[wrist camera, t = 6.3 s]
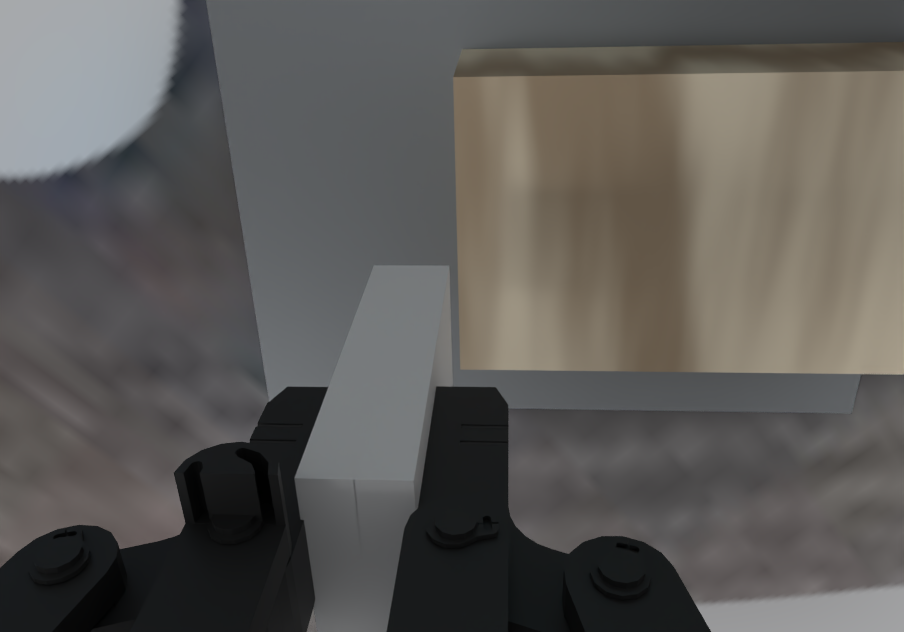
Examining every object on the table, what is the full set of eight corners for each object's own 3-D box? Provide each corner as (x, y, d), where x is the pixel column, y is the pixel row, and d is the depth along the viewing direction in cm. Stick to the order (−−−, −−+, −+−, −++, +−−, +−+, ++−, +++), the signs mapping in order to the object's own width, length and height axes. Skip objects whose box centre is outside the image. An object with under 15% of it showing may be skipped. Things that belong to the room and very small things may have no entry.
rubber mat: (273, 397, 29) (269, 405, 28) (195, -106, 21) (189, -106, 21) (845, 405, 27) (851, 413, 27) (976, -130, 20) (986, -131, 19)
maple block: (460, 369, 22) (903, 374, 21) (453, 76, 19) (988, 69, 18) (467, 305, 26) (847, 307, 25) (462, 49, 22) (908, 41, 21)
